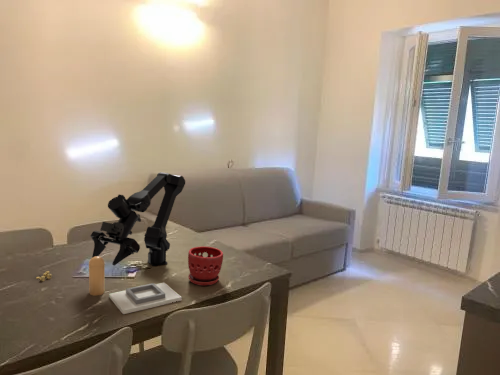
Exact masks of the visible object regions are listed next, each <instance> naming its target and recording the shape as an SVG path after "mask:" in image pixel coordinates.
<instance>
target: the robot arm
mask: <svg viewBox="0 0 500 375" xmlns="http://www.w3.org/2000/svg"><path fill="white" fill-rule="evenodd" d="M185 186H186V180H185V177H184V176H183V175H178V174H171V173H168V172H162V171H161V172H158V173H157V174H156V176H155V178H153V179H152V180H151V181H150V182H149V183H148V184H147V185H146V186H145V187H144V188H143V189H142V190H140V191H137V192H133V194H131V195H129V196H128V198H126V197H125V195H124V194H117V196H115V197H112V199H111V200H109V201H108V203H107V208H108V209H109V211H111V213H112V214H113V215H114V216H115V217H116V218H118V220H117V221H115V222H113V223H111V222H106V221H102V223H101V226H100V229H99V230H94V231H92V233H91V234H90V235H89V237H90V238H91V240H92V241H93V243H94V244H93V245H94V246H93V252H92V257H91V258H93V257H95V256H99V257H100V255H101V254H102V253H103V251H104V250H106V249H107V246H106V245H108V244H114V245H118V246H119V250H118V251H117V254H116V255H115V257H114V259H113V261H112V263H111V264H112V265H113V266H116V265H117V264H119V263H120V262H122V261H123V260H125V259H126V258H127V257H129V256H131V255H134V254H138V253H139V252H140V249H141V245H140V244H139V242H137V241H136V239H135V238H131V237H128V236H129V235H130V236H131V235H132V234H133V232H132V229H133V228H134V226H135V224H136V223H137V222H139V223H140V222H142V219H141V215H140V214H139V213H145V212H146V211H147V210H148V209H149V208H150V206H151V202H152V199H153V198H154V197H155V196H156V195H157V194H158V193H159V192H160V191H161V190H162V189H164V190H163V191H164V194H163V196H162V201H161V203H160V206H159V209H158V212H157V214H156V217H155V220H154V222H153V224H152V225H151V226H147V228H146V232H145V233H144V235H143V236H144V238H143V242H144V245H145V249H149V250H148V252H147V262H148V263H149V264H150V265H151V266H152V267H155V266H162V265H167V264H168V261H167V252H168V251H169V249H170V247H171V243H170V242H169V241H168V240H167V237H168V233H167V230H166V227H167V225H168V221H169V218H170V217H171V216H170V215H171V213H172V209H173V207H174V205H175V201H176V199H177V196H178V195H179V194H181V193H182V191H183V189H184V188H185ZM137 212H139V213H137ZM104 232H106V233H104Z"/></svg>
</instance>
